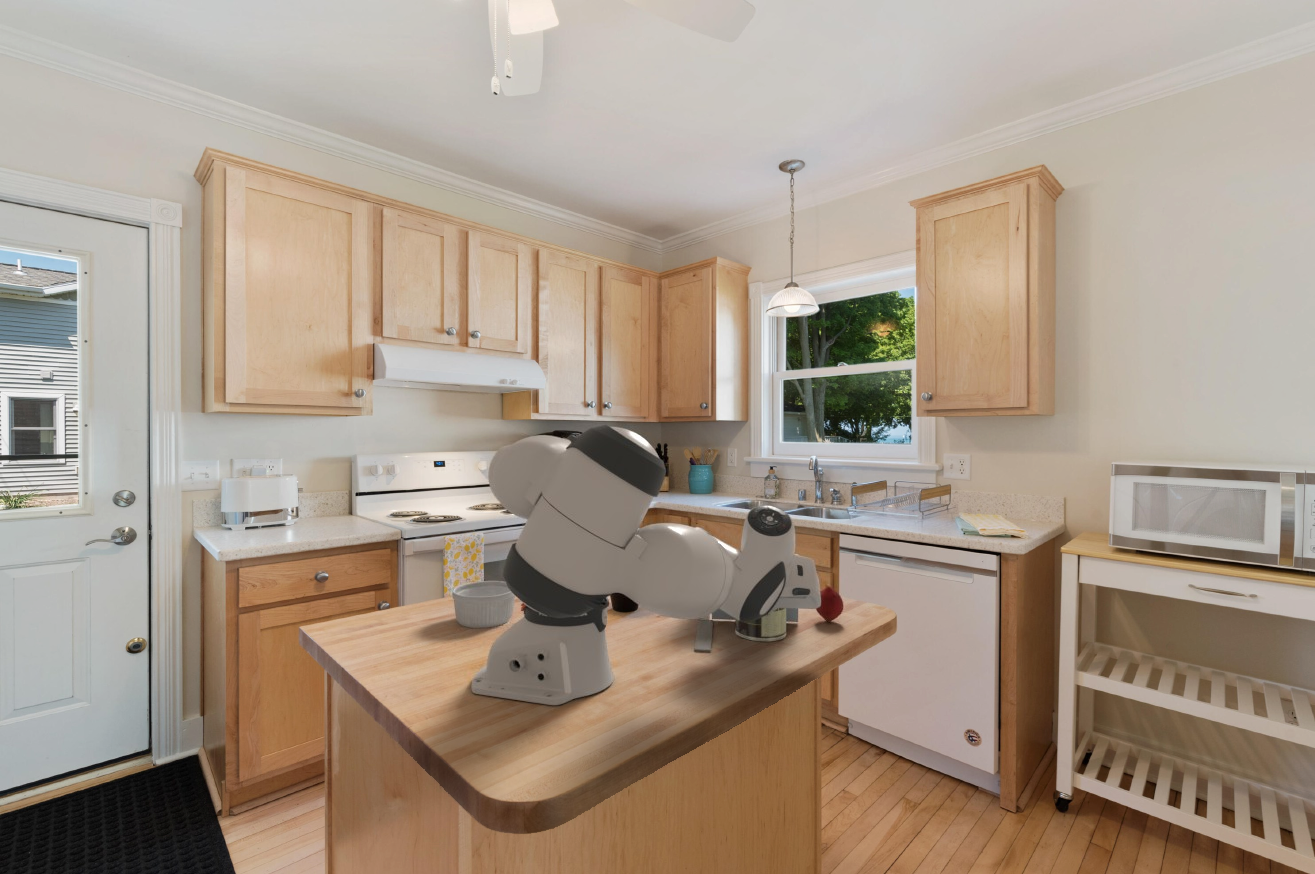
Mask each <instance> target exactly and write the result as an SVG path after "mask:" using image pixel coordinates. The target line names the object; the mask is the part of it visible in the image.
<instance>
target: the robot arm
mask: <svg viewBox="0 0 1315 874" xmlns="http://www.w3.org/2000/svg"><path fill="white" fill-rule="evenodd" d="M666 473H667V469H666V466H665V462H664V460H663V459H661V458H660V457H659V455H658V453H657V451H656V450H655V449H654V447H653V445H652V444H650V442H649V441H648V440H646V439H645V438H644V437H643V436H642V435H639V434H638V433H636V432H635V431H632V430H629V429H627V428H625V427H624V428H623V427H619V426H610V425H607V424H602V425H598V426H593V427H589V428H588V429H587V430H584V432H583V433H581V434H579V435H578V436H575V435H574V434H570V435H568V436H567V437H566V438H563V437H562V438H561V437H559V436H554V435H546V434H542V435H541V434H539V435H538V434H537V435H531V436H526V437H525V438H521V439H519V440H517V441H515V442H514V443H512V444H508V445H503V446H501V447H500V448H499V449H498V450H497V451H496V452H495V454H494V456H493V457H492V459H491V461H490V464H489V466H488V477H487V478H488V484H489V487H490V490H491V492H492V494H493V496H494V497H495V498H496V501H498V502H499V503H500V504H501V506H503V508H505V510H506V511H508V512H509V513H511V514H513V515H514V516H516V517H518V518H521V519H524V520H526V522H525V524H524V526H523V528H522V531H521V533H520V535H519V537H518V539H517V541H516V542H514V543H512V544H511V546H510V549H509V551H508V554H507V556H506V559H505V562H504V565H503V571H502V576H503V578H504V582H506V584H507V586H508V588H509V589H510V591H511V592H512V593H513V594H514V595H515V598H517V599H518V600H519V601H520V602H522V603H521V604H520V607H521V608H520V611H521V612H523V615H524V616H523V617H522V618H520V619H519V620H518V621H516V622H515V623H514V624H512V625H511V626H510V627H509V628H508V629H506V630H505V631H504V632H503V633H502V634H500V635H499V636H498V637H497V638H496V639H495V640H494V642H493V643H492V644H491V647H490V650H489V653H488V656H487V661H486V664H485V665H483V666H482V667H481V668H480V669H479V670H478V671H477V672H476V673H475V674H474V676H473V678H472V680H471V687H470V688H471V689H470V690H471V692H472V693H473V694H476V695H480V696H481V695H483V696H487V697H489V696H490V697H493V698H494V697H495V698H502V699H508V700H514V701H515V700H517V701H523V702H529V703H535V704H541V705H549V706H560V705H562V704H565V703H568V702H570V701H573V699H578V698H582V697H586V696H587V697H588V696H590V695H595V694H596V693H600V692H601V691H603V690H605V689H607V688H608V687H609V686H611V685H612V683H613V682H614V679H615V677H614V672H613V670H612V665H611V661H610V656H609V650H608V645H607V637H606V627H607V624H608V607H609V606H610V601H609V599H608V597H610V596H611V595H612V594H615V593H619V594H622V595H624V596H625V597H627V598H629V599H630V600H632V602H634V603H636V604H637V605H638V606H640V607H642V608H644V609H645V610H647V611H649V612H651V613H654V614H656V615H659V616H663V617H667V618H672V619H679V620H680V619H681V620H695V619H700V618H701V619H702V617H705V616H707V615H710V616H711V615H712V613H713V612H715V611H716V610H717V609H718V608H719V609H720V610H722V611H724V612H725V613H727V614H729V615H730V616H732V617H734V618H736V619H738V620H739V621H741V622H750V621H753V620H756V619H759V618H761V617H763V616H771V612H773V611H774V610H776V609H778V608H795V609H798V610H799V609H801V610H816V608H818V607H820V606H821V595H820V591H821V588H820V587H821V586H820V579H819V575H818V572H817V568H816V564H815V560H814V559H813V558H811V557H807V556H803V555H799V554H798V555H795V554H796V553H795V552H796V551H795V550H796V528H795V524H794V521H793V519H792V517H791V516H790V514H788V512H786V511H784V510H782V509H781V508H778V507H775V506H774V505H769V504H768V505H764V504H763V505H758V506H754V507H753V508H752V509H750V510H749V511H748V512H747V514H746V516H745V519H744V522H743V527H742V531H741V532H742V533H741V542H740V550H739V549H738V548H735V547H733V546H732V545H730V544H728V543H726V542H724V541H723V540H721V539H719V538H717V537H715V536H714V535H713V534H712V533H710V532H708V531H706V530H705V529H704V528H702V527H700V526H699V527H698V526H697V527H694V526H691V525H690V526H689V525H688V524H687V525H686V524H683V523H682V524H681V523H676V522H675V523H674V522H673V523H672V522H661V523H659V522H658V523H653V524H648V525H645V526H643V527H641V528H640V526H641V524H642V522H643V520H644V518H645V517H646V514H647V512H648V510H649V509H650V506H651V504H652V501H653V499H654V498H657V497H658V496H659V493H660V491H661V488H662V487H663V484H664V481H665V477H666Z"/></svg>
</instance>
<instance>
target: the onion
mask: <svg viewBox="0 0 1315 874" xmlns="http://www.w3.org/2000/svg"><path fill="white" fill-rule="evenodd" d="M820 595H821V606H820V607H818V608H816V609H815V610H816V612H817V613H818V615H819V616H821V617H822V618H823V619H824V621H825V622H827V623H831V622H833V621H834V620H836V619H837V618H838V617H839V616H841V614H842V613H843V612H844V611H843V610H844V601H843V598H842V597H841V595H840V594H839V592H838V591H837V590H835V589H834V587H832V586H831V585H830V584H829V583H827V584H826V583H825V588H824V589H822V590H820Z"/></svg>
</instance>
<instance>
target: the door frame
mask: <svg viewBox="0 0 1315 874" xmlns="http://www.w3.org/2000/svg"><path fill="white" fill-rule="evenodd" d="M710 618H711V614H710V615H707V616H705V617H702V618H701V619H700V618H698V621H697V629H696V635H695V643H694V652H699V653H700V652H701V653H704V652H705V653H711V652H712V642H713V641H712V639H713V621H714V619H710Z"/></svg>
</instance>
